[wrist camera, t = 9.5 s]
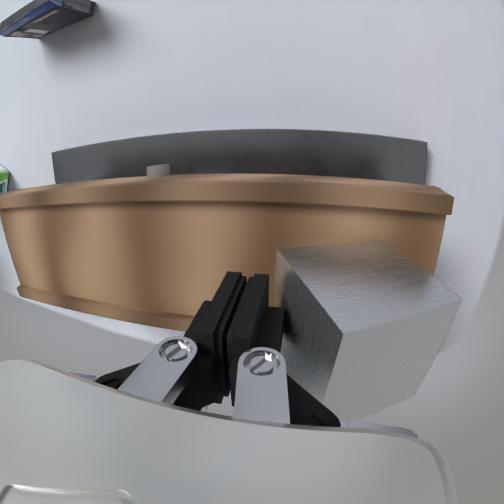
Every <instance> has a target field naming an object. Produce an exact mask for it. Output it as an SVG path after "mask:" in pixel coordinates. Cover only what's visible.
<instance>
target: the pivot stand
mask: <svg viewBox="0 0 504 504" xmlns="http://www.w3.org/2000/svg"><path fill="white" fill-rule="evenodd" d="M426 155H427V142H424V141H418V140H411V139H404V138H397V137H389V136H381V135H372V134H362V133H351V132H338V131H322V130H298V129H236V130H212V131H196V132H183V133H171V134H161V135H152V136H144V137H136V138H128V139H121V140H115V141H108V142H102V143H96V144H91V145H85V146H80V147H75V148H70V149H65V150H61V151H57V152H53V153H52V160H53V168H54V175H55V182H56V184H62V183H71V182H80V181H90V180H101V179H112V178H126V177H141V176H147V167H149V166H153V165H159V164H169V166H170V175H183V174H288V175H313V176H331V177H346V178H359V179H371V180H382V181H392V182H402V183H411V184H419V185H424V177H425V167H426Z"/></svg>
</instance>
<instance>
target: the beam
mask: <svg viewBox="0 0 504 504" xmlns="http://www.w3.org/2000/svg"><path fill="white" fill-rule="evenodd" d="M453 202H454V197H452V196H451V195H449V194H448V193H446V192H445V191H443V190H441V189H440V188H438V187H435V186H427V185H419V184H411V183H402V182H392V181H382V180H371V179H359V178H346V177H331V176H313V175H288V174H183V175H170V166H169V164H159V165H153V166H149V167H147V176H141V177H126V178H112V179H101V180H90V181H80V182H71V183H62V184H54V185H47V186H39V187H32V188H25V189H19V190H13V191H9V192H6V193H4V194H2V195H0V216H1V221H2V225H3V229H4V233H5V237H6V240H7V244H8V247H9V251H10V254H11V257H12V261H13V264H14V267H15V270H16V273H17V276H18V279H19V281H20V284H21V285H20V286H19V287H17V289H18V292H19V295H20V296H21V297H24V298H28V299H31V300H35V301H39V302H42V303H46V304H50V305H54V306H58V307H62V308H66V309H70V310H74V311H79V312H83V313H87V314H92V315H96V316H101V317H106V318H111V319H116V320H121V321H126V322H131V323H137V324H142V325H148V326H154V327H160V328H166V329H172V330H178V331H185V332H186V331H187V329H188V328H189V326H190V324H191V322H192V321H193V319H194V317H195V315H196V314H197V312H198V310H199V308H200V306H201V305H202V303H203V302H204V301H205V300H208V301H212V299H213V297H214V295H215V293H216V292H217V290H218V288H219V286H220V284H221V282H222V280H223V278H224V277H225V275H226V273H227V271H231V272H241V273H242V276H246V278H247V281H248V279H249V277H254V274H255V273H257V274H269V306H270V307H273V297H274V284H275V271H276V258H277V249H283V248H294V247H306V246H317V245H329V244H340V243H352V242H364V241H375V240H383V241H384V242H386V243H387V244H389V245H390V246H391V247H393V248H394V249H396V250H397V251H399V252H400V253H401V254H403V255H404V256H406V257H407V258H409V259H410V260H411V261H413V262H414V263H415V264H417V265H418V266H420V267H421V268H422V269H424V270H425V271H426V272H428V273H429V274H430V275H432V276H433V274H434V270H435V266H436V262H437V258H438V253H439V249H440V244H441V240H442V235H443V230H444V225H445V219H446V215H451V214H452V208H453Z"/></svg>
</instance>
